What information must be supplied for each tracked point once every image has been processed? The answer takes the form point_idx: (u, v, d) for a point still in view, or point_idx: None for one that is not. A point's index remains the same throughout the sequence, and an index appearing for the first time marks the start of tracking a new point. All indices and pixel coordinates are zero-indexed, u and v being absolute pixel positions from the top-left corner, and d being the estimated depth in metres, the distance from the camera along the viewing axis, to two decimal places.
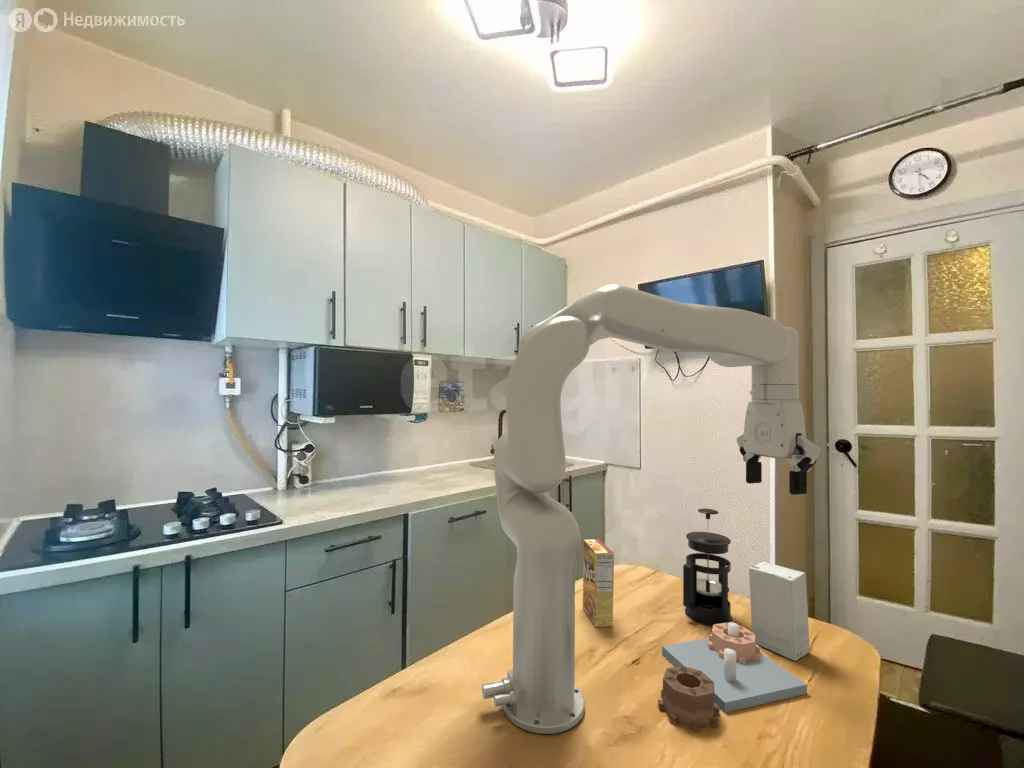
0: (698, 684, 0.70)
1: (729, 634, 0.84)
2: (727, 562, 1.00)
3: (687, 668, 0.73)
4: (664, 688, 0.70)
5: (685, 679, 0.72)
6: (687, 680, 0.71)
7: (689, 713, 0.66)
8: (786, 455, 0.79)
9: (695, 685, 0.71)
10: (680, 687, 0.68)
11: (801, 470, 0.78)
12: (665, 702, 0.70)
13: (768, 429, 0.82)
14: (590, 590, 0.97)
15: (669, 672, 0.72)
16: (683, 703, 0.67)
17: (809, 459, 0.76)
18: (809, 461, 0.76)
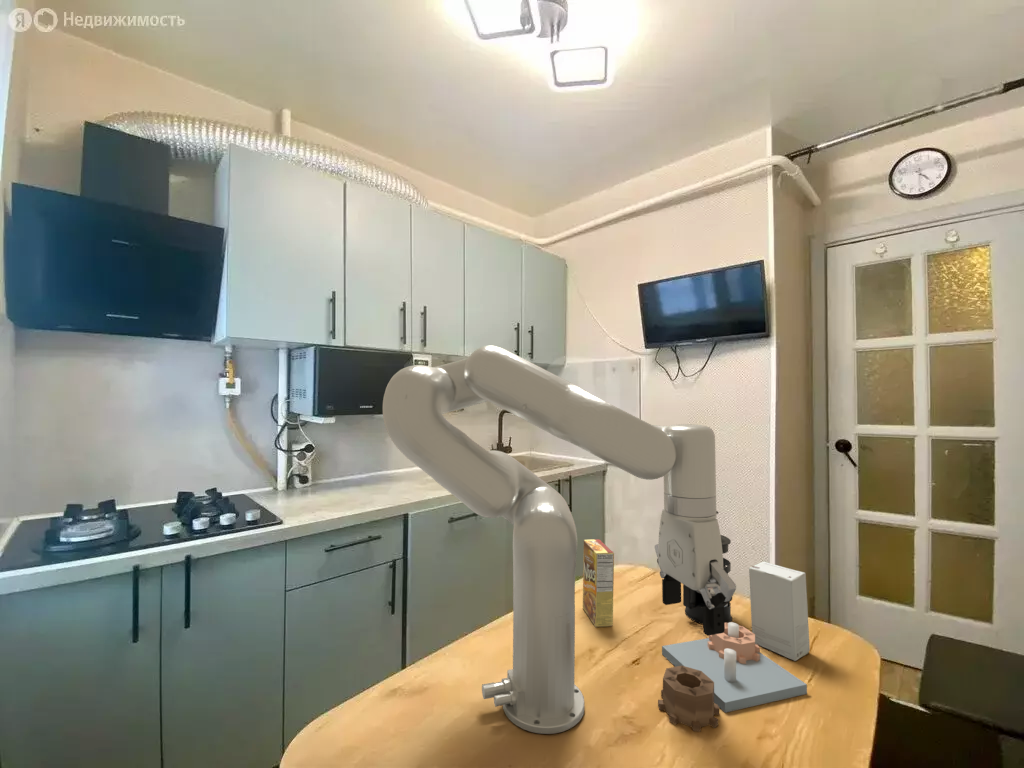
0: (698, 684, 0.70)
1: (729, 634, 0.84)
2: (727, 562, 1.00)
3: (687, 668, 0.73)
4: (664, 688, 0.70)
5: (685, 679, 0.72)
6: (687, 680, 0.71)
7: (689, 713, 0.66)
8: (698, 588, 0.65)
9: (695, 685, 0.71)
10: (680, 687, 0.68)
11: (715, 607, 0.64)
12: (665, 702, 0.70)
13: (680, 550, 0.68)
14: (590, 590, 0.97)
15: (669, 672, 0.72)
16: (683, 703, 0.67)
17: (723, 597, 0.63)
18: (723, 599, 0.63)
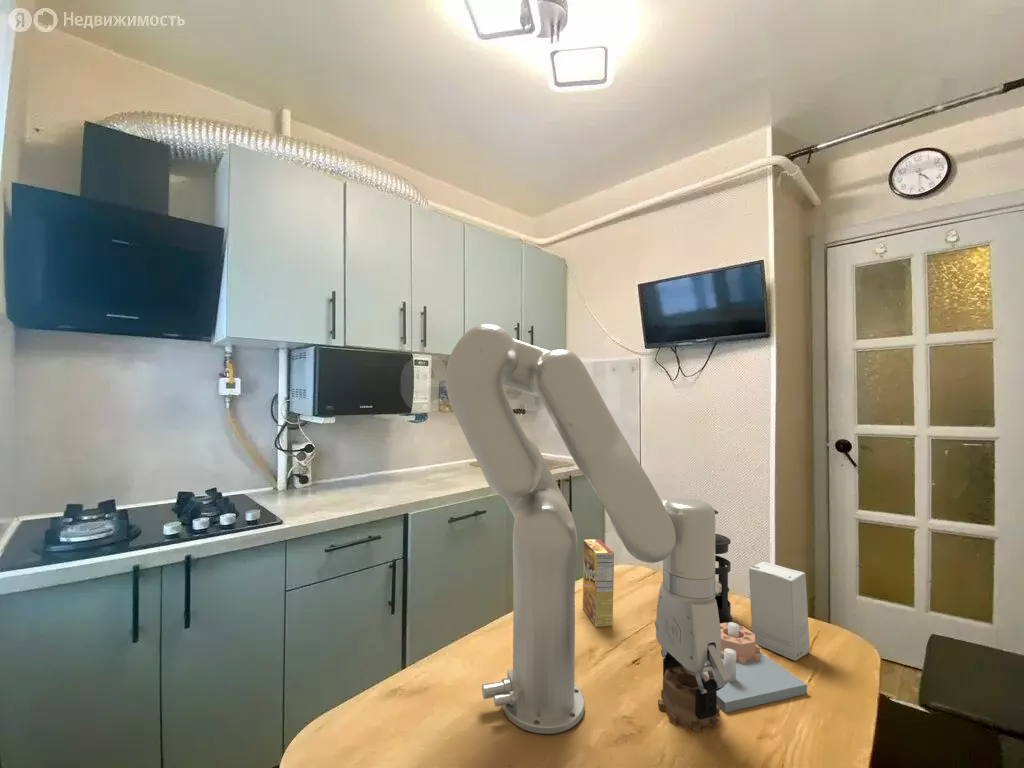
0: None
1: (729, 634, 0.84)
2: (727, 562, 1.00)
3: None
4: (664, 688, 0.70)
5: (685, 679, 0.72)
6: (687, 680, 0.71)
7: (689, 713, 0.66)
8: (695, 671, 0.65)
9: (695, 685, 0.71)
10: (680, 687, 0.68)
11: (707, 692, 0.65)
12: (665, 702, 0.70)
13: (678, 629, 0.68)
14: (590, 590, 0.97)
15: (669, 672, 0.72)
16: (683, 703, 0.67)
17: (715, 684, 0.63)
18: (715, 687, 0.63)
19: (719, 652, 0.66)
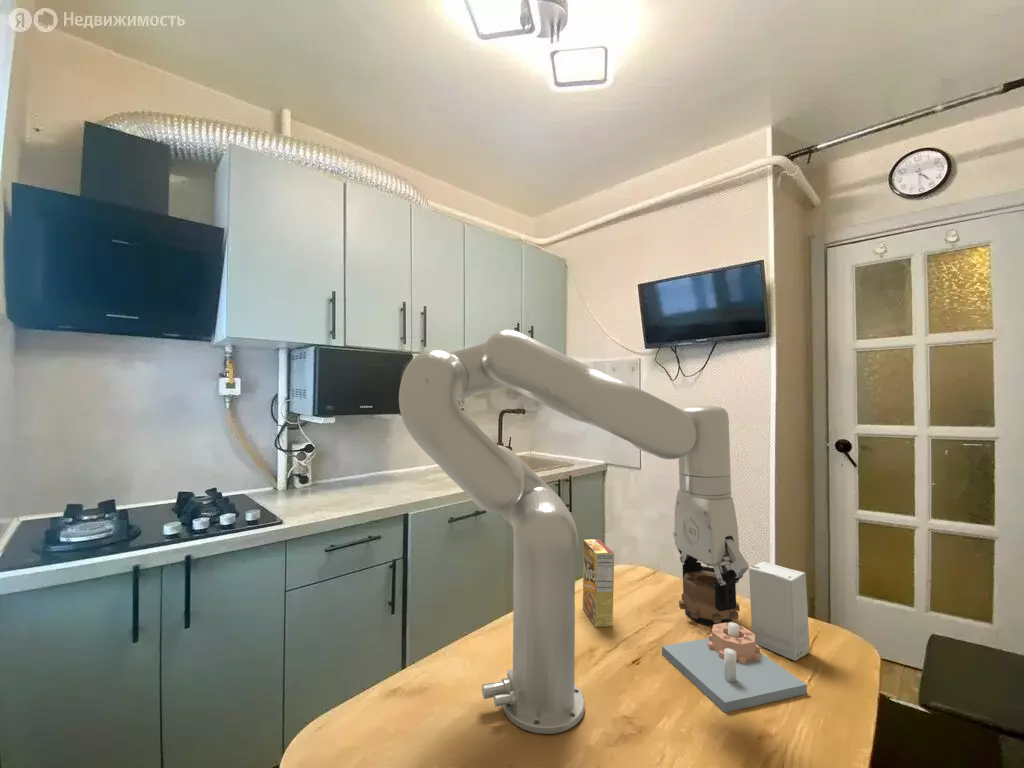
0: None
1: (729, 634, 0.84)
2: None
3: (706, 572, 0.75)
4: (684, 588, 0.72)
5: (705, 581, 0.74)
6: (707, 582, 0.73)
7: (710, 607, 0.68)
8: (714, 563, 0.67)
9: None
10: (700, 584, 0.70)
11: (726, 584, 0.67)
12: (686, 601, 0.72)
13: (696, 528, 0.70)
14: (590, 590, 0.97)
15: (689, 575, 0.74)
16: (703, 598, 0.69)
17: (734, 573, 0.65)
18: (734, 576, 0.65)
19: (737, 546, 0.68)
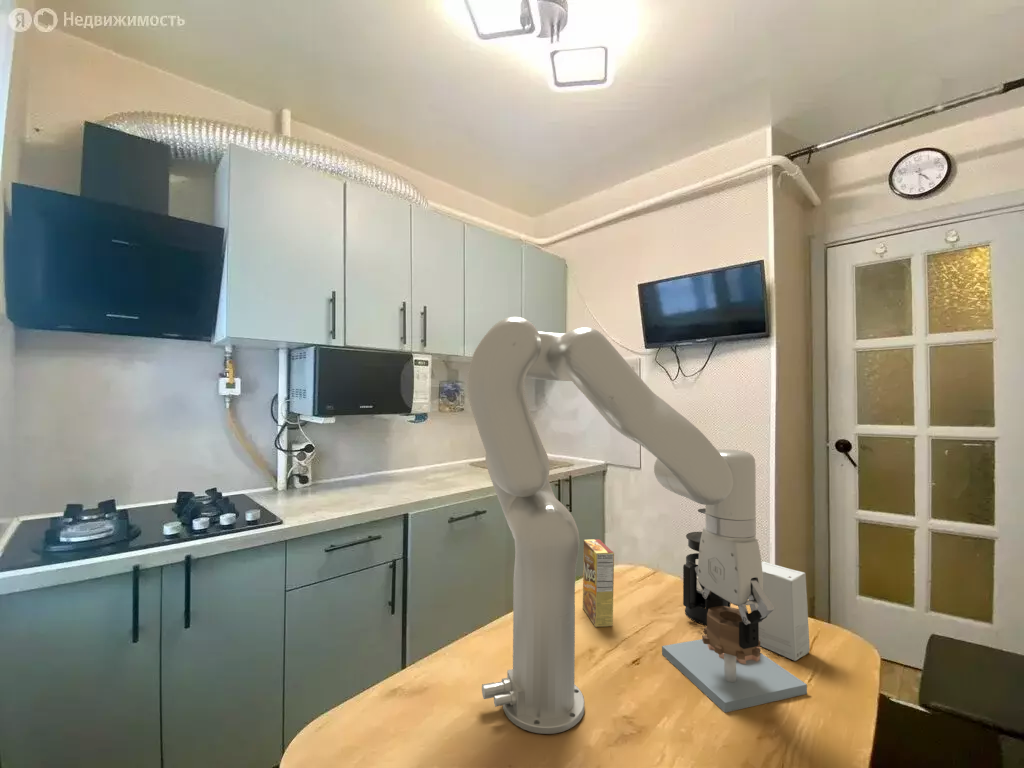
0: (740, 620, 0.76)
1: None
2: None
3: (728, 607, 0.78)
4: (708, 624, 0.75)
5: (727, 617, 0.77)
6: (729, 617, 0.77)
7: (733, 644, 0.72)
8: (740, 603, 0.70)
9: (736, 621, 0.76)
10: (724, 621, 0.73)
11: (751, 623, 0.70)
12: (709, 636, 0.75)
13: (722, 567, 0.73)
14: (590, 590, 0.97)
15: (712, 610, 0.77)
16: (728, 635, 0.72)
17: (759, 614, 0.69)
18: (759, 617, 0.69)
19: (761, 587, 0.71)
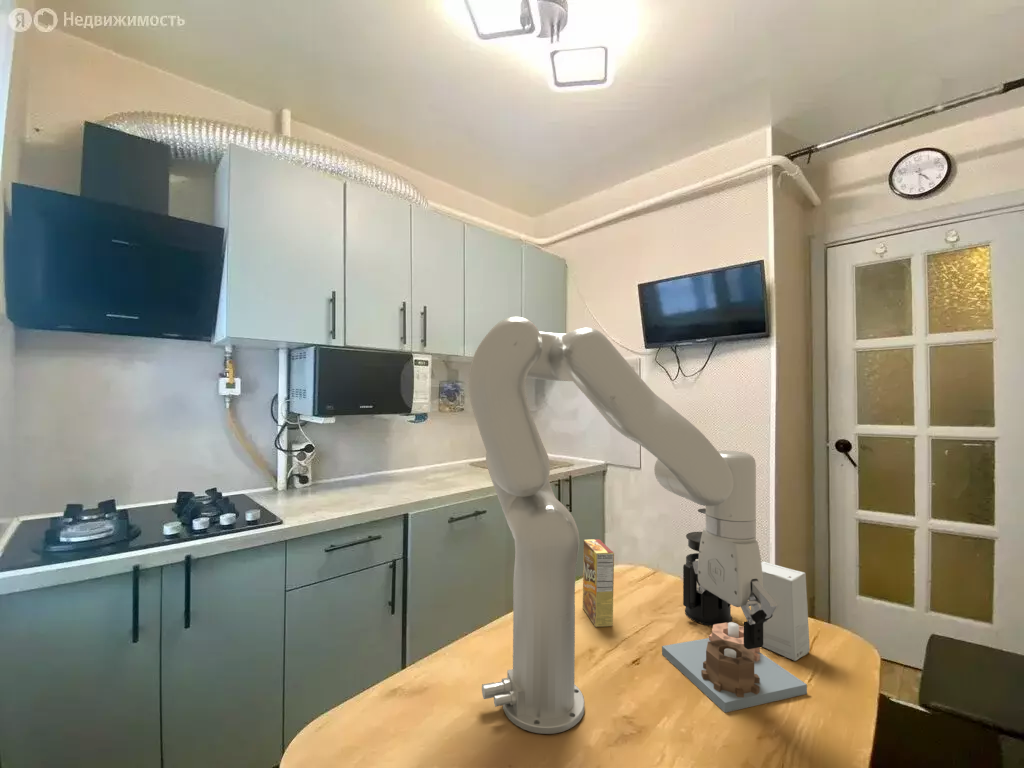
0: (739, 655, 0.75)
1: (729, 634, 0.84)
2: None
3: (727, 641, 0.78)
4: (707, 659, 0.75)
5: None
6: None
7: (733, 681, 0.72)
8: (740, 605, 0.70)
9: (736, 657, 0.76)
10: (724, 658, 0.73)
11: (756, 623, 0.69)
12: (708, 672, 0.75)
13: (722, 569, 0.73)
14: (590, 590, 0.97)
15: (711, 645, 0.77)
16: (727, 672, 0.72)
17: (764, 614, 0.68)
18: (764, 616, 0.68)
19: None
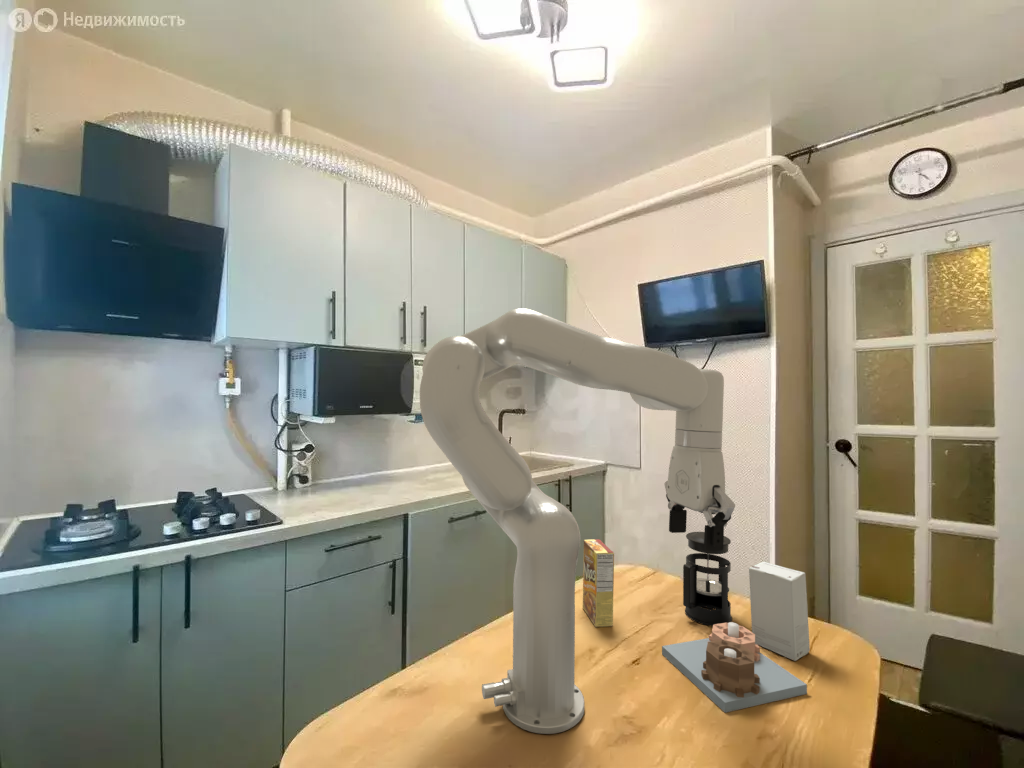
0: (739, 655, 0.75)
1: (729, 634, 0.84)
2: (727, 562, 1.00)
3: (727, 641, 0.78)
4: (707, 659, 0.75)
5: None
6: None
7: (733, 681, 0.72)
8: (701, 508, 0.73)
9: (736, 657, 0.76)
10: (724, 658, 0.73)
11: (715, 525, 0.72)
12: (708, 672, 0.75)
13: (687, 478, 0.77)
14: (590, 590, 0.97)
15: (711, 645, 0.77)
16: (727, 672, 0.72)
17: (723, 515, 0.71)
18: (723, 517, 0.71)
19: None
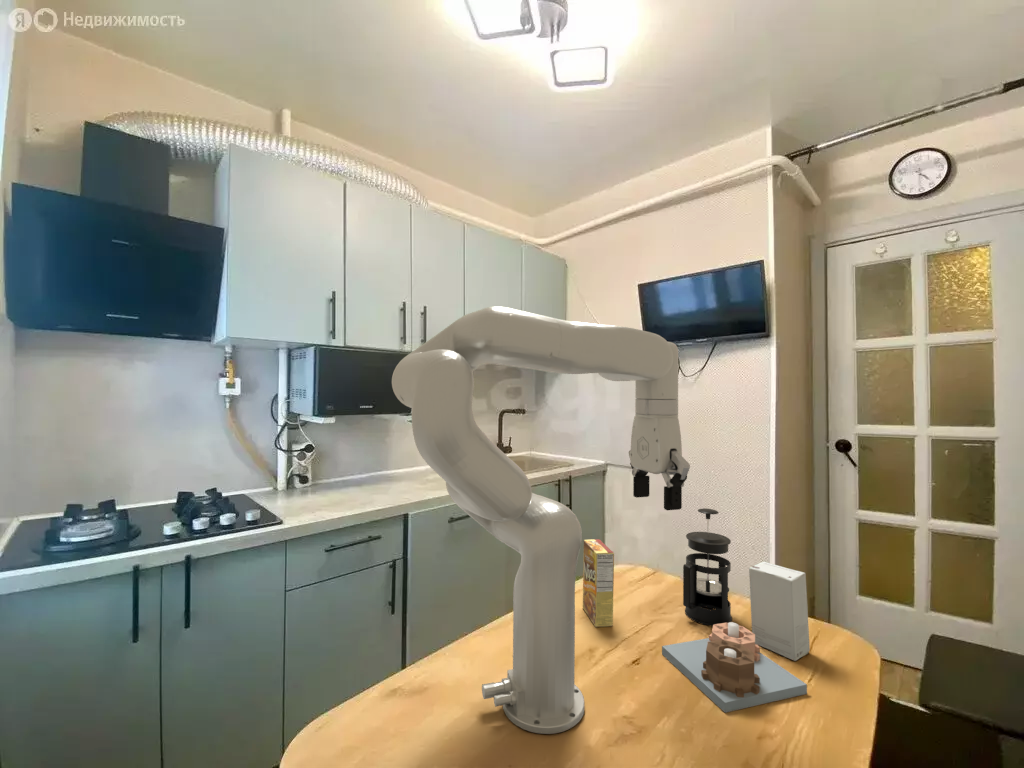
0: (739, 655, 0.75)
1: (729, 634, 0.84)
2: (727, 562, 1.00)
3: (727, 641, 0.78)
4: (707, 659, 0.75)
5: None
6: None
7: (733, 681, 0.72)
8: (660, 471, 0.78)
9: (736, 657, 0.76)
10: (724, 658, 0.73)
11: (673, 486, 0.78)
12: (708, 672, 0.75)
13: (647, 444, 0.82)
14: (590, 590, 0.97)
15: (711, 645, 0.77)
16: (727, 672, 0.72)
17: (679, 475, 0.76)
18: (679, 477, 0.76)
19: None
